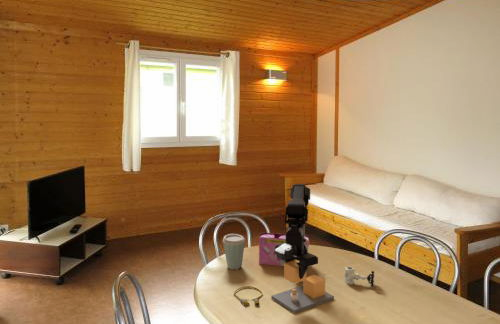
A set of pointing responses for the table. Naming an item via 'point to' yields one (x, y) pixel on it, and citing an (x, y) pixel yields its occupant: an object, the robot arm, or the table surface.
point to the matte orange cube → (293, 272)
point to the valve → (357, 276)
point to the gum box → (272, 248)
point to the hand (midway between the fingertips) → (295, 275)
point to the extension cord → (253, 299)
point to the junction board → (304, 295)
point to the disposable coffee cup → (234, 250)
